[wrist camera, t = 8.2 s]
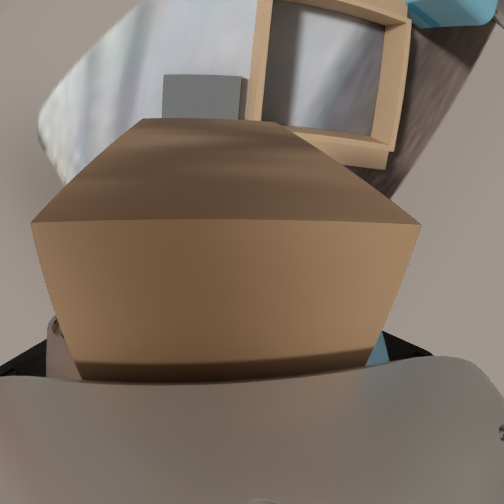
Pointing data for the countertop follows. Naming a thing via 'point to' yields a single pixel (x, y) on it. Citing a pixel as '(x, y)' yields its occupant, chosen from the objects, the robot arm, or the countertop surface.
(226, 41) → the countertop surface
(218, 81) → the mat
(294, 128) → the carton
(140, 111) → the countertop surface
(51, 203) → the walnut box
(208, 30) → the countertop surface
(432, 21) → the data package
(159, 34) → the countertop surface
